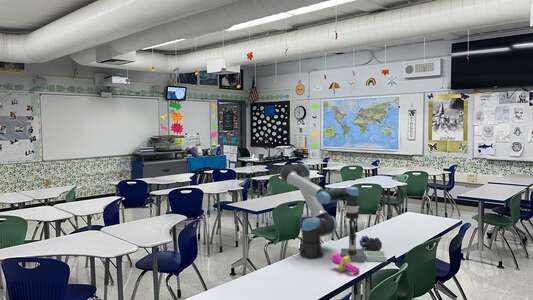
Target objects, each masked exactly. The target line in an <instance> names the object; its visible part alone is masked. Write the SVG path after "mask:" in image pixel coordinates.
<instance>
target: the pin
mask: <svg viewBox="0 0 533 300" xmlns="http://www.w3.org/2000/svg"><path fill="white" fill-rule="evenodd" d="M348 237H349V238H348V239H350V238H351V234H350V233H349V234H348ZM356 239H357V233H355V250H350V240H348V243H349V245H348V249H349V253H356V249H357V247H356V246H357V240H356Z"/></svg>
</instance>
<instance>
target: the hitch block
mask: <svg viewBox="0 0 533 300" xmlns="http://www.w3.org/2000/svg"><path fill="white" fill-rule="evenodd" d="M340 253H341V254H340V256H341V257H342V258H343V257H345V256H347V255H348V256H349V257H350V260H351V262H350V263H365V262H366V258H365V250H364V248H356V253H349V248H346V247H345V248H340Z"/></svg>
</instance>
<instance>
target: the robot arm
mask: <svg viewBox="0 0 533 300" xmlns="http://www.w3.org/2000/svg"><path fill="white" fill-rule="evenodd" d="M310 172H311V171H310V168H309V167H308V165H307V164H305V163H301V162H299V163H298V162H297V163H293V164H286V165H284V166H283V167H282V168H281V169H280V171H279V176H280V179H281V180H282V181H283V182H284V183H286V185H292V186H295V187H296V188H297V189H299V191H300V193H301V195H302V197H303V199H304V201H305V203H306V205H307V207H308V209H309V211H310V213H311V216H312V217H307V218H304V219H303V220H302V222H301V238H302V239H301V240H302V241H301V247H300V248H299V255H300V257H302V258H304V259H310V260H311V259H313V260H314V259H319V258H322V257H323V256H324V251H323V248H322V244H321V237H325V236H328V235H329V236H330V235H332V234H333V233H335V232H336V230H337V225H338V223H337V220H336V218H335V217H334V216H333V215H330V214H329V212H328V211H326V210H325V209H324V207H323V205H327V204H330V203H335V202H340V201H341V202H345V212H346V213H345V218H346V219H348V224H349V234H351V238H350V239H349V238H348V239H349V240H350V250H355V234H356V231H355V230H356V224H357V223H356V222H357V221H356V220H358V219H359V209H360V206H359V188H358V187H357V186H347V187H346V188H345V189H344V188H338V187H332V188H331V189H330V190H327V189H325V188H323V187H322V186H319V185H318V184H315V183H314V182H312V181H310V179H311V177H310V176H311V173H310ZM349 240H348V241H349Z"/></svg>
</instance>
